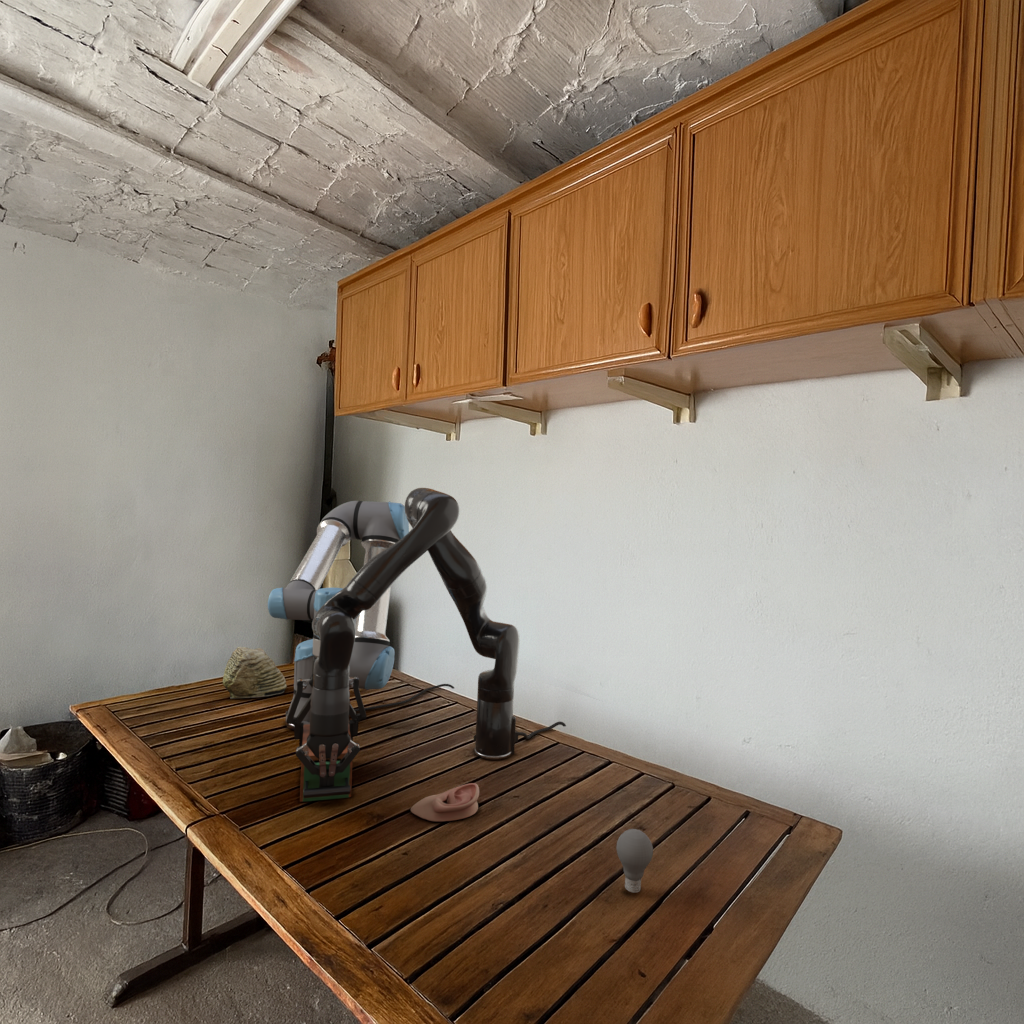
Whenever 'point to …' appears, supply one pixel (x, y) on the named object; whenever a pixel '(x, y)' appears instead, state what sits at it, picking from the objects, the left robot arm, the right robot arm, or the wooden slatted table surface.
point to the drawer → (337, 791)
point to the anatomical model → (449, 804)
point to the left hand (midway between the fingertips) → (325, 750)
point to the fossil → (252, 674)
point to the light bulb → (634, 857)
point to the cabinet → (305, 735)
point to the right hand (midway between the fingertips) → (326, 792)
